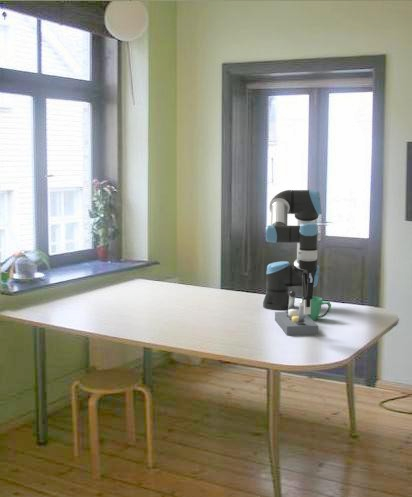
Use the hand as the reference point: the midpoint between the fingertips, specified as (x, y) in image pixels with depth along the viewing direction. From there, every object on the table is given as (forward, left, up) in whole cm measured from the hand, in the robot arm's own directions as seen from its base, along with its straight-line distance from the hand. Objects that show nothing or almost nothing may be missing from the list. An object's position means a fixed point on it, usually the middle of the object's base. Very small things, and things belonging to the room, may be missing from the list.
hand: (307, 313), depth 309 cm
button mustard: (-19, 0, -9) cm, 21 cm away
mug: (-36, +13, -12) cm, 40 cm away
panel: (-22, 0, -11) cm, 25 cm away
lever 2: (-12, 0, -6) cm, 14 cm away
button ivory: (-27, 0, -7) cm, 28 cm away
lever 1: (-33, 0, -6) cm, 34 cm away
